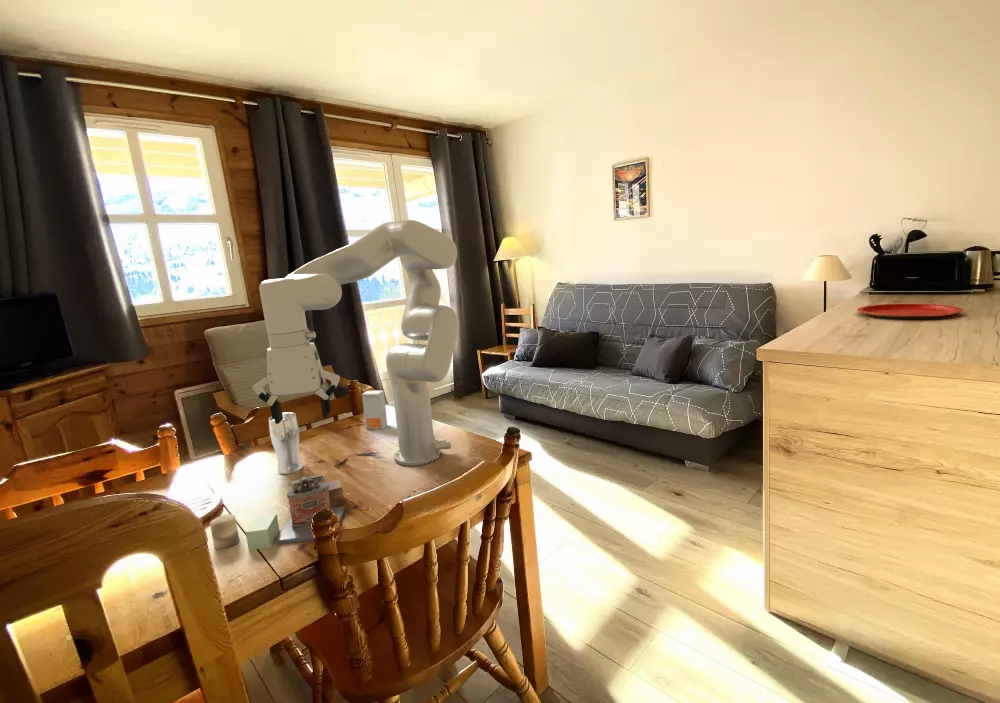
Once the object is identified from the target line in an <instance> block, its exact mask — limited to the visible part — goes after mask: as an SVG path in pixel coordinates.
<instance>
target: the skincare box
mask: <svg viewBox="0 0 1000 703" xmlns="http://www.w3.org/2000/svg"><path fill="white" fill-rule="evenodd" d="M361 397H362V405H363V406H362V408H363V416H364V425H365V429H367V430H368V429H372V430H375V429H376V430H383V429H384V428H385V427H387V425H388V419H387V411H386V410H387V408H386V399H385V398H386V397H385V391H384V390H376V389H375V390H366V391H364V392H363V393H361ZM383 427H384V428H383ZM380 428H381V429H380ZM382 428H383V429H382Z"/></svg>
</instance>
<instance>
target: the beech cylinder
mask: <svg viewBox="0 0 1000 703" xmlns="http://www.w3.org/2000/svg"><path fill="white" fill-rule="evenodd" d="M237 525H238V524H237V519H236V516H235V514H224V515H221V516H218V517H216V518H214V519H212V520H211V521H210V522H209V526H210V532H211V538H212V542H213V546H214V549H215V550H218V551H221V550H223V551H224V550H227V549H230V548H232V547H234V546H236V545H237V544H238V543H239V542H240V537H239V530H238V526H237Z"/></svg>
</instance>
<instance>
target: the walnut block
mask: <svg viewBox="0 0 1000 703" xmlns="http://www.w3.org/2000/svg"><path fill="white" fill-rule="evenodd" d="M325 483H328V485H329V489H328V491H329V498H330V505H331V508H333V507H342V506H345V500H344V499H345V498H344V492H343V491H344V490H343V486H342V484H341V481H340V479H335V480H330V481H327V482H325Z"/></svg>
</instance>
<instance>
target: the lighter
mask: <svg viewBox="0 0 1000 703" xmlns="http://www.w3.org/2000/svg"><path fill="white" fill-rule="evenodd" d="M324 481H325V476H324V474H322V473H321V474H316V475H313V476H310V477H308V476H307V475H306V476H302V477H301V478H300V479H297V480H293V481H291V486H292V487H291V488H292V490H288V491H287V492H286V496H287V499H288V504H289V510H290V517H292V528H293V529H300V528H306V527H310V526H311V524H312V518H313V515H314V514H315V513H317V512H319V511H320V510H323V509H329V510H331V505H330V498H329V491H328V489H329V485H328V483H326V482H324ZM322 482H323V483H322Z"/></svg>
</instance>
